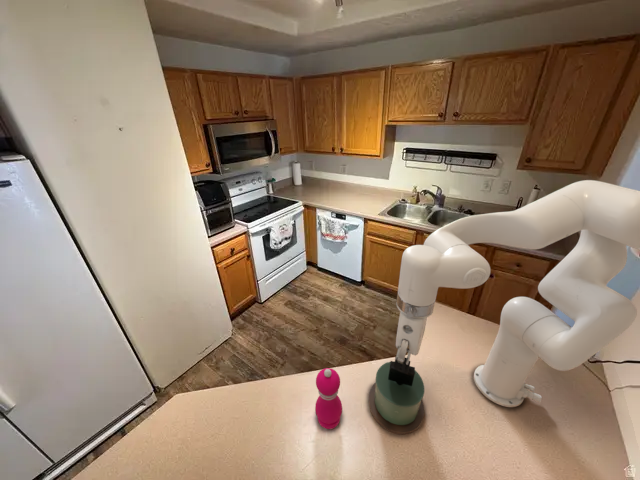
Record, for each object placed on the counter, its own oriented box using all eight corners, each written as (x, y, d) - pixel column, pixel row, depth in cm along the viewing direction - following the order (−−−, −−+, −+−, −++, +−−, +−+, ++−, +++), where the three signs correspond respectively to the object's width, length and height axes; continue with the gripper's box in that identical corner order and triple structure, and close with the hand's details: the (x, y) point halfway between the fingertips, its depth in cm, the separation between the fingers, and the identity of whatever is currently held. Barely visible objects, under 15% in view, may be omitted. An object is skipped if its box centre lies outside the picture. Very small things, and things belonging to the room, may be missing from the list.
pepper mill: (340, 434, 67) (340, 388, 58) (313, 428, 69) (309, 382, 59) (343, 405, 73) (344, 359, 64) (318, 401, 75) (316, 355, 65)
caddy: (418, 433, 66) (428, 398, 58) (370, 416, 69) (373, 382, 62) (419, 387, 76) (428, 353, 69) (377, 375, 80) (380, 341, 72)
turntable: (428, 394, 75) (428, 391, 75) (417, 447, 64) (417, 444, 64) (378, 371, 82) (378, 368, 82) (360, 415, 71) (360, 413, 70)
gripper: (426, 336, 47) (414, 392, 55) (440, 282, 60) (428, 334, 68) (385, 322, 50) (379, 376, 58) (407, 274, 63) (400, 324, 71)
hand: (406, 354), depth 63 cm, fingers open, 9 cm apart
